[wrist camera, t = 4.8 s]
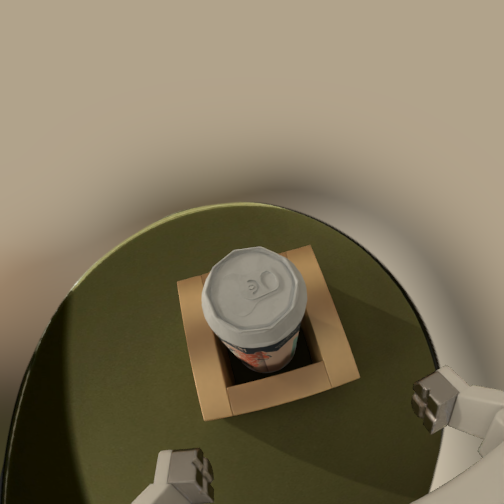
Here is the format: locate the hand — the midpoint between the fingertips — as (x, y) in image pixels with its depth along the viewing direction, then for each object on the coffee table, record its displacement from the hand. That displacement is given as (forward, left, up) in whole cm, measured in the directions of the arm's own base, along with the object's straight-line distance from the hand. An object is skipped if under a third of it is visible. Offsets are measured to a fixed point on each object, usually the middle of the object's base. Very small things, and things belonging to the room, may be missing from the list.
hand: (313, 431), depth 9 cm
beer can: (+6, -1, -13) cm, 14 cm away
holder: (+6, -1, -12) cm, 14 cm away
